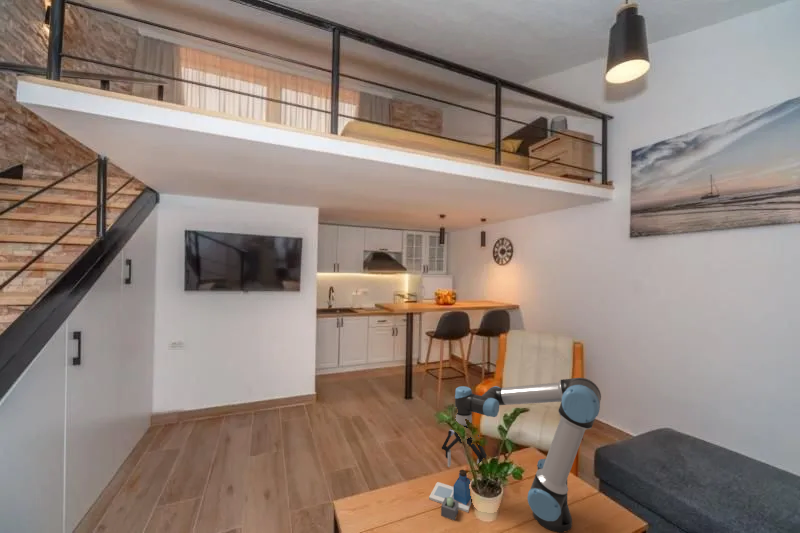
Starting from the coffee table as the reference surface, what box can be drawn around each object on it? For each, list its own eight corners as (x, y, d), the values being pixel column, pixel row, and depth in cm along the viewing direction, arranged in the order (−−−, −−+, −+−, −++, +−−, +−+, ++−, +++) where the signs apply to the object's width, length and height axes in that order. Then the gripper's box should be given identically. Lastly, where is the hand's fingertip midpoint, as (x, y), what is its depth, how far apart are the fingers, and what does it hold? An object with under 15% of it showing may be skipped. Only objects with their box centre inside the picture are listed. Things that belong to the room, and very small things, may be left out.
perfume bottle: (466, 505, 140) (466, 477, 140) (453, 499, 143) (453, 472, 144) (471, 497, 145) (472, 470, 145) (459, 491, 148) (459, 465, 149)
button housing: (458, 511, 138) (458, 501, 138) (454, 520, 132) (454, 510, 132) (445, 506, 140) (445, 497, 140) (441, 515, 135) (441, 506, 135)
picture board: (473, 495, 148) (473, 492, 148) (468, 512, 137) (468, 509, 137) (437, 483, 155) (437, 481, 155) (429, 499, 144) (429, 496, 144)
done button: (453, 507, 137) (454, 498, 137) (452, 511, 134) (452, 502, 134) (447, 505, 138) (447, 496, 138) (445, 509, 135) (446, 500, 136)
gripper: (492, 423, 143) (493, 471, 142) (439, 413, 154) (440, 458, 153) (489, 431, 136) (490, 481, 135) (435, 420, 147) (435, 466, 146)
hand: (463, 469), depth 144 cm, fingers open, 13 cm apart
